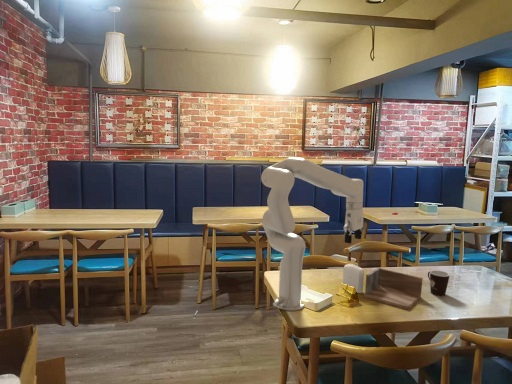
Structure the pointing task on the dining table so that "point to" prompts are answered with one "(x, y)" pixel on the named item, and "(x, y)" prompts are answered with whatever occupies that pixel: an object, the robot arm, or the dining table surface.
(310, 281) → the dining table surface
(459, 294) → the dining table surface
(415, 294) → the shelf
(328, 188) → the robot arm
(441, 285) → the coffee mug
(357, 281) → the white upright block
